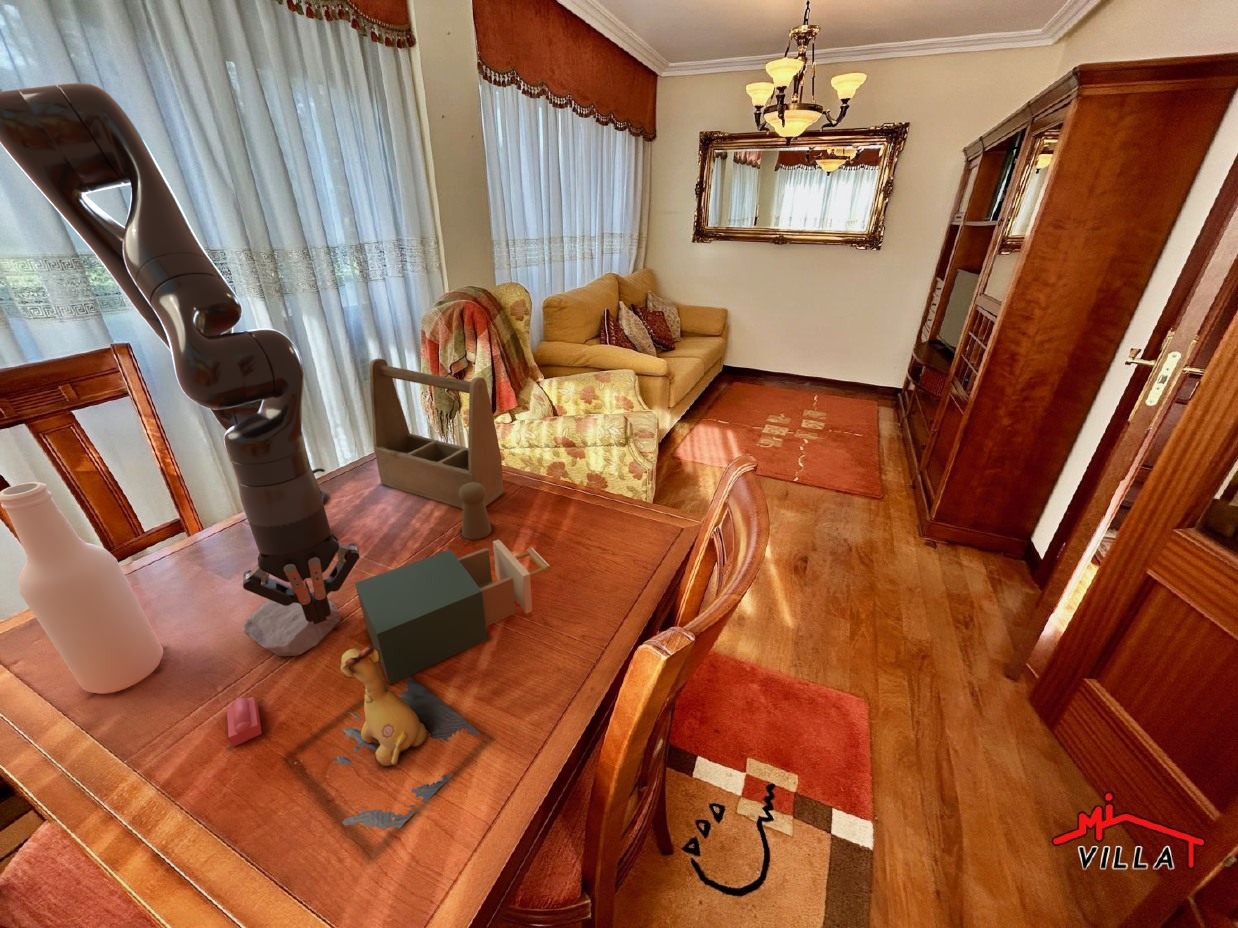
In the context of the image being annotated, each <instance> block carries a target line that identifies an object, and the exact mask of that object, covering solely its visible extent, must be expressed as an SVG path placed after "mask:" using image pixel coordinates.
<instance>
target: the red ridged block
mask: <svg viewBox="0 0 1238 928" xmlns="http://www.w3.org/2000/svg"><path fill="white" fill-rule="evenodd" d="M226 718H227V732H228V733H227V735H228V739H229V741H230V744H231V745H232V747H237V746H239V745H241V744H243V743H245V742H248V741H249V740H252V739H254V738H256V737H258V736H261V735H262V725H261V718H260V711H259V705H258V702H257V700H256V698H255V696H251V697H249V698H246V697H239V698H237V699H235V700H234V702H233V703H232V705H230V706H227V707H226Z"/></svg>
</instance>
